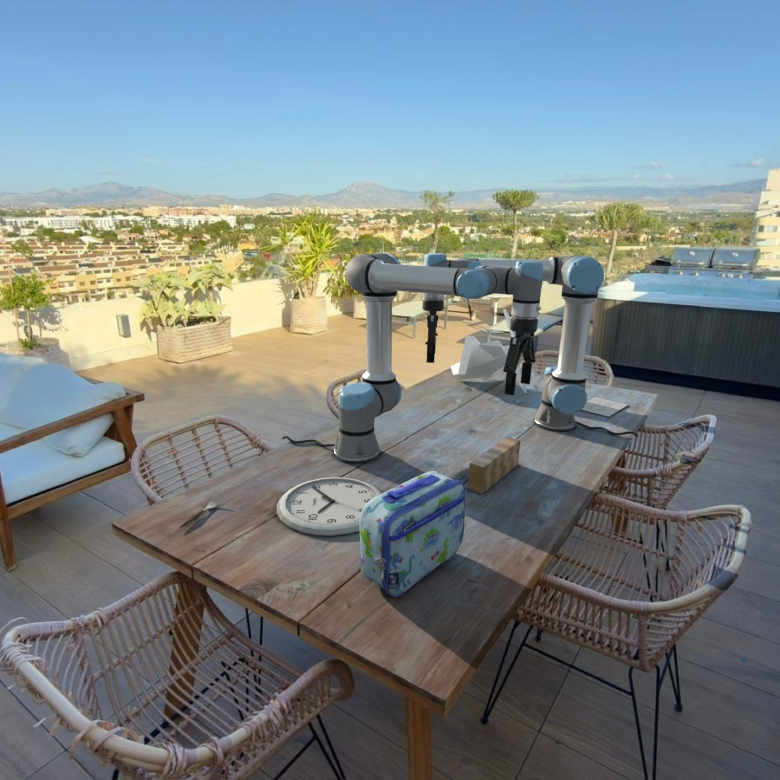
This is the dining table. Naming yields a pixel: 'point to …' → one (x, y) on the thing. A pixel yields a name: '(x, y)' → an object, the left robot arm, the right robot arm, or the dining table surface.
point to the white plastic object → (486, 359)
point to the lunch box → (411, 531)
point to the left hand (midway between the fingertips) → (517, 388)
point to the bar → (493, 464)
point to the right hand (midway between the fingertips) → (431, 358)
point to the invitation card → (603, 406)
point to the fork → (209, 506)
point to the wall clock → (326, 505)
